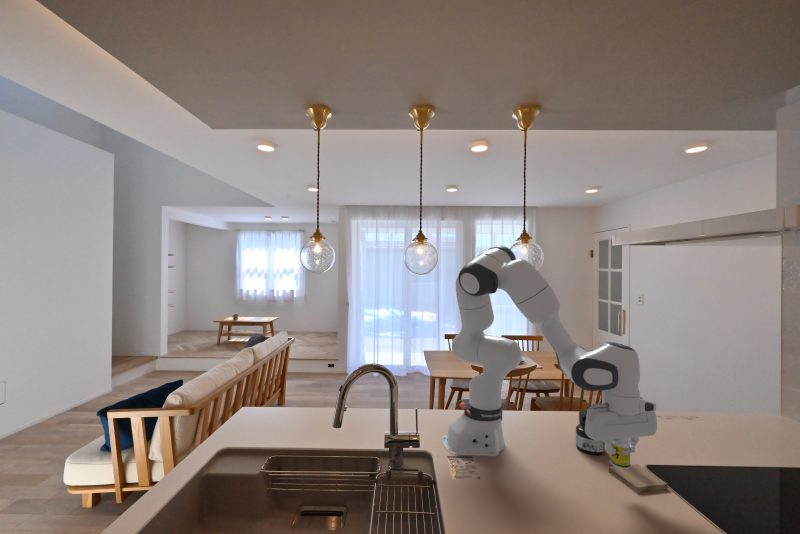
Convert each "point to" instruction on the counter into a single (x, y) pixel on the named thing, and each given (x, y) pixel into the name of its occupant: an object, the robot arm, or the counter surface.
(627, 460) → the supplement bottle
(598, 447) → the ink bottle
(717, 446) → the counter surface
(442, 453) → the counter surface
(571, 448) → the counter surface
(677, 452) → the counter surface
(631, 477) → the tan slab
